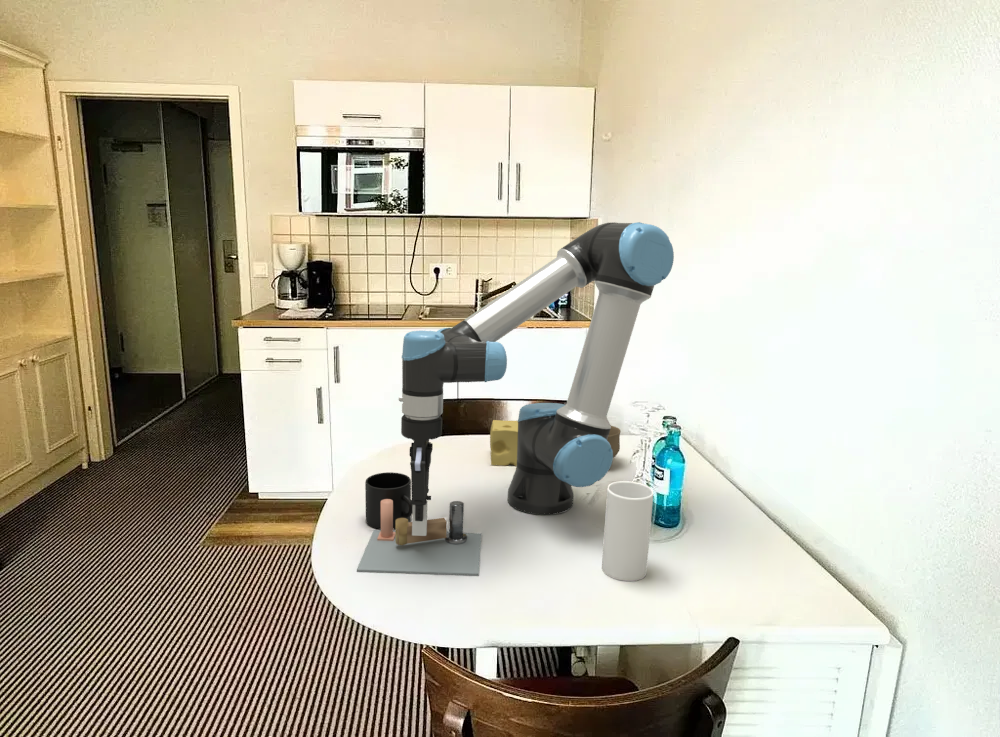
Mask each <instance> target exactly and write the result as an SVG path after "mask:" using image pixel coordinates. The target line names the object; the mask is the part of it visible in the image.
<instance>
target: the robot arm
mask: <svg viewBox="0 0 1000 737" xmlns="http://www.w3.org/2000/svg"><path fill="white" fill-rule="evenodd" d="M674 253H675V252H674V248H673V244H672V243H671V240H670V238H669V236H668V235H667V233H666V232H665V231H664V230H663V229H661V228H660V227H659V226H657V225H654V224H648V223H644V222H641V221H639V222H606V223H600V224H599V225H596V226H595V227H592V228H590V229H588V230H587V231H586V232H583V233H582V234H581V235H579V236H578V237H576V238H575V239H573V240H572V241H570V242H568V243H567V244H566V245H564V246H563V247H561V248H559V249H558V250H557V253H556V257H555V258H554V259H552V260H550V261H549V262H548V263H546V264H545V265H543V266H542V267H540V268H539V269H537V270H535V271H534V272H533V273H532V274H530V275H529V276H527V277H525V278H524V279H523V280H521V281H519V283H517V284H515V285H514V286H512V287H511V288H509V289H508V290H506V291H505V292H503V293H502V294H500V295H499V296H497V297H496V298H494V299H493V300H491V301H490V302H488V303H487V304H486V305H484V306H483V307H481V308H480V309H478V310H477V311H475V312H474V313H472V314H471V315H469V316H467V317H466V318H465V319H463V320H461V321H460V322H459V323H457V324H455V325H454V326H453V327H443V328H439V329H438V330H437V331H435V330H413V331H412V330H411V331H408V332H407V333H406V334H405V335H404V336H403V343H402V353H401V354H402V355H401V360H402V362H401V363H402V364H401V365H402V366H401V367H402V368H401V371H402V374H401V376H402V377H401V378H402V379H401V380H402V386H401V387H402V388H401V389H402V390H401V396H399V397H398V401H399V402H401V413H402V416H401V420H400V421H401V422H400V424H401V426H400V427H401V428H400V431H401V432H400V433H401V435H402V436H403V437H404V438H406V439H409V440H412V441H413V442H411V443H410V447H409V457H410V462H409V465H410V471H411V472H410V473H411V474H410V479H411V500H409V504H412V505H413V506H412V515H411V517H412V518H411V522H412V535H413V536H426V534H427V520H428V501H432V495H428V493H429V492H430V489H429V483H430V482H429V481H430V480H429V478H430V467H431V462H432V452H433V443H432V442H430V441H431V440H437V439H438V438H440V437H441V436H442V433H443V417H442V416H441V415H442V414H443V412H444V410H443V409H444V383H446V384H450V383H451V384H452V383H476V382H477V383H480V382H482V383H483V382H484V383H488V382H493V381H501V380H502V379H503V378H504V376H505V374H506V371H507V368H508V367H507V366H508V358H507V351H506V349H505V346H504V345H503V344H502V343H501V342H500V341H499V340H501V339H502V338H503V337H504V336H506V335H507V334H509V333H510V332H512V331H514V330H515V329H516V328H518V327H520V326H521V325H523V323H525V322H527V321H528V320H529V319H531V318H533V317H534V316H536V315H537V314H538V313H540V312H541V311H543V310H544V309H546V308H547V307H549V306H550V305H552V304H553V303H554V302H556V301H557V300H559V299H560V298H562V297H564V296H565V295H566V294H568V293H569V292H570V291H572V290H573V289H575V288H581V289H582V288H584V287H586V286H587V285H589V284H591V283H592V282H594V284H595V287H596V288H597V290H598V297H597V299H596V303H595V305H594V306H595V307H594V309H593V313H592V317H591V320H590V324H589V328H588V330H587V334H586V337H585V340H584V344H583V347H582V351H581V353H580V357H579V360H578V364H577V368H576V371H575V373H574V376H573V380H572V384H571V387H570V391H569V394H568V396H567V397H568V398H567V399H566V403H565V404H564V403H559V402H558V403H557V402H554V403H553V402H538V403H537V402H536V403H535V402H534V403H528V404H526V405H525V404H524V405H523V406H521V407H520V408H519V411H518V412H519V413H518V419H517V421H518V442H517V466H516V468H515V471H514V473H513V476H512V479H511V481H510V484H509V487H508V490H507V502H508V504H509V505H510V506H511V507H512V508H514V509H516V510H519V511H521V512H524V513H527V514H532V515H543V516H546V515H548V516H549V515H557V514H558V515H559V514H561V513H564V512H567V511H568V510H570V509H571V508H572V507H573V506H574V496H575V495H574V490H573V487H575V488H585V487H590V486H593V485H594V484H595V483H596V482H600V481H601V480H602V479H603V478H604V477H605V476H606V474H608V472H609V470H610V468H611V467H612V464H613V460H614V458H613V451H612V449H611V445H610V443H609V442H608V441H607V439H608V436H609V432H610V429H611V426H612V425H611V423H610V421H609V420H608V418H607V416H608V414H609V413H608V412H609V409H610V406H611V402H612V400H613V397H614V393H615V390H616V387H617V383H618V380H619V377H620V373H621V370H622V367H623V364H624V361H625V360H624V359H625V358H626V353H627V350H628V347H629V345H630V344H629V343H630V340H631V337H632V335H633V334H632V333H633V330H634V328H635V324H636V321H637V317H638V315H639V314H638V313H639V312H640V311H639V310H640V308H641V304H643V303H644V302H646V301H647V300H649V299H651V298H652V296H653V295H652V294H653V290H654V288H655V286H656V285H658V284H660V283H662V281H664V280H665V279H667V277H668V276H669V274H670V272H671V271H672V268H673V265H674V257H675V256H674ZM498 341H499V342H498Z"/></svg>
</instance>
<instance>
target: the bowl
mask: <svg viewBox="0 0 1000 737" xmlns="http://www.w3.org/2000/svg"><path fill="white" fill-rule="evenodd" d="M621 432H622V431H621V429H620V428H619V427H617V426H613V425H611V429H610V432H609V436H608V439H607V441H608V442H609V443H610V445H611V449H612V451H613V459H614V458H615V457H616V456H617V455H618V453H619V452H620V449H621V445H620V441H621V440H620V439H621V438H620V437H621Z"/></svg>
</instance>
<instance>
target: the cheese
mask: <svg viewBox="0 0 1000 737" xmlns="http://www.w3.org/2000/svg"><path fill="white" fill-rule="evenodd" d="M490 426H491V427H490V433H489V434H490V435H489V446H490V447H489V448H490V463H491V464H490V466H499V467H500V466H502V467H503V466H507V467H508V466H509V465H514V466H515V467H517V442H518V420H501V419H500V420H499V419H497V420H496V419H493V420H492V422H491V425H490Z"/></svg>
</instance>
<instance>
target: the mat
mask: <svg viewBox="0 0 1000 737" xmlns="http://www.w3.org/2000/svg"><path fill="white" fill-rule="evenodd" d="M380 531H381V529H373V530H372V532H371V535H370V537H369V541H368V542H367V545H366V546H365V549H364V551H363V554H362V557H361V558H360V561H359V564H358V566H357V569H356V572H357V573H358V572H359V573H385V574H386V573H388V574H389V573H391V574H394V573H395V574H415V575H417V574H419V575H445V576H446V575H447V576H469V577H470V576H471V577H472V576H476V577H479V575H480V574H479V573H480V563H481V562H480V561H481V559H480V558H481V549H482V548H481V546H482V533H480V532H479V533H477V532H476V533H475V532H464V533H465V534H466V535H467V541H466V542H465V543H463V544H458V545H454V544H449V543H447V542H446V541H445V538H442V539H435V540H429V541H422V542H415V543H408V544H405V545H397V544H396V542H395V541H396V535H395V538H394V541H379V540H377V538H378V536H379V533H380ZM393 532H396V529H393ZM447 533H449V531H446V534H447Z"/></svg>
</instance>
